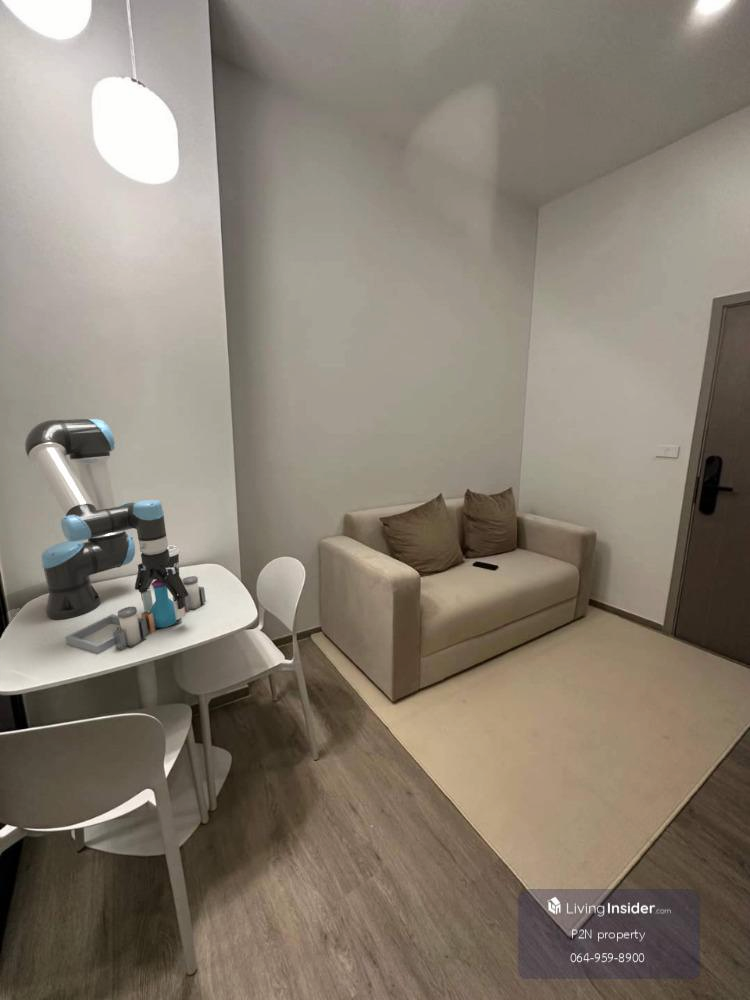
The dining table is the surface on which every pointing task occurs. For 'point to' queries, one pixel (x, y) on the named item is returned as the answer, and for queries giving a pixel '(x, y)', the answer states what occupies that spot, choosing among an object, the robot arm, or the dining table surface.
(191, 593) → the canister
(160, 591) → the perfume bottle
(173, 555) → the coffee cup
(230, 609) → the dining table surface
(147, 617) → the clip rack
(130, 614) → the canister
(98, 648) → the tray
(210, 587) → the dining table surface
